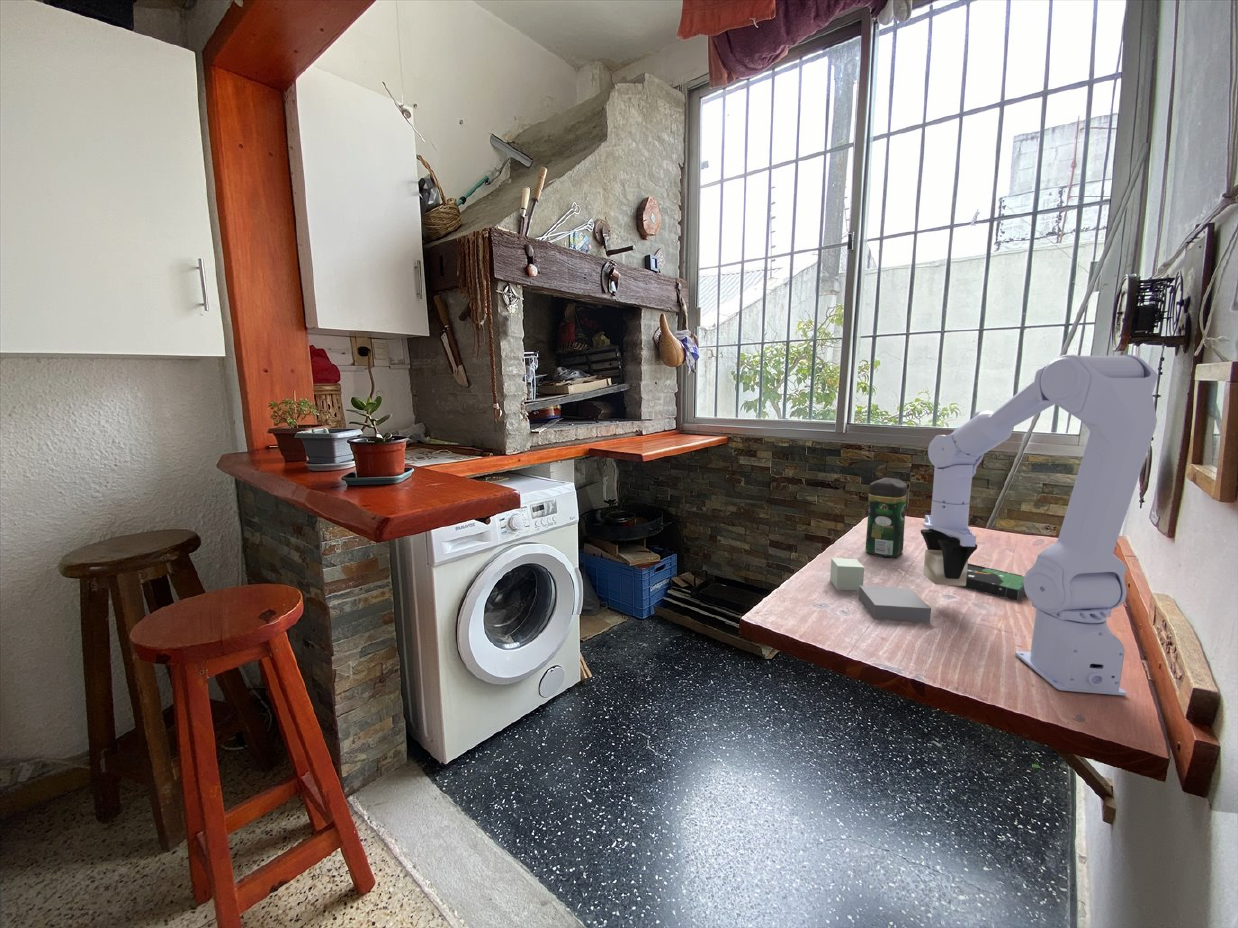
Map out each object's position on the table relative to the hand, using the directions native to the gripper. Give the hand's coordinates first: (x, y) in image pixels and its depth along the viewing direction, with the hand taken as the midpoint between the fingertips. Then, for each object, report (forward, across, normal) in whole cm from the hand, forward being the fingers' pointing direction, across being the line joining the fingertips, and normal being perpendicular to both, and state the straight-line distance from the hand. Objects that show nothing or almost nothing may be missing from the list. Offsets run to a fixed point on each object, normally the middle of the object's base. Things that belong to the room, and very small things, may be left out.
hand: (944, 572), depth 91 cm
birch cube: (+2, 0, 0) cm, 2 cm away
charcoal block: (+7, +4, -10) cm, 13 cm away
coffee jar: (+6, -31, 0) cm, 31 cm away
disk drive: (+7, -12, +13) cm, 19 cm away
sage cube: (+6, -7, -15) cm, 18 cm away
